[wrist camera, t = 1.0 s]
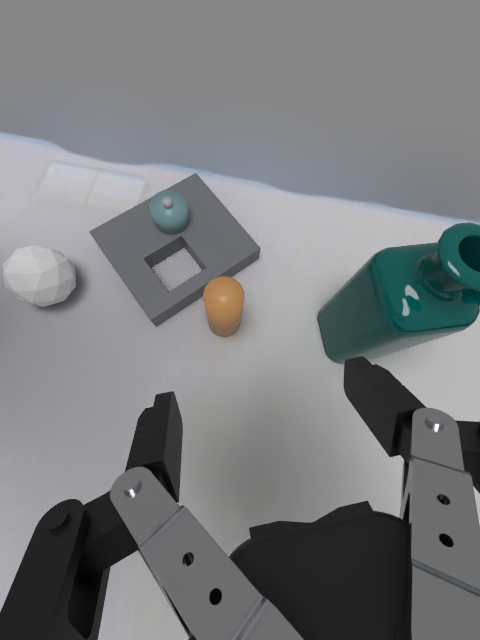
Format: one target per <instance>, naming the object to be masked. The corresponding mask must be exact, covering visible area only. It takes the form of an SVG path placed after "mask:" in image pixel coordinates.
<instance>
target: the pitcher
mask: <svg viewBox="0 0 480 640" xmlns="http://www.w3.org/2000/svg"><path fill="white" fill-rule="evenodd" d="M479 312H480V225H478V224H473V223H461V224H455V225H453V226H452V227H450V228H448V229H447V230H445V231H444V232H443V234H442V236H441V237H440V239H439V241H438V242H437V243H428V244H419V245H409V246H400V247H391V248H385V249H383V250H381V251H379V252H377V253H376V254H374V255H373V256H372V257H371V258H370V259H369V260H368V261H367V262H366V263H365V264H364V265H363V266H362V267H361V268H360V269H359V270H358V271H357V272H356V273H355V274H354V275H353V276H352V277H351V278H350V279H349V280H348V281H347V282H346V283H345V284H344V285H343V286H342V287H341V288H340V289H339V291H338V292H337V293H336V294H335V295H334V296H333V297H332V298H331V299H330V300H329V301H328V302H327V303H326V304H325V305H324V306H323V307H322V308H321V310H320V311H319V313H318V321H319V325H320V329H321V334H322V338H323V342H324V346H325V351H326V353H327V355H328V356H329V358H331V359H332V360H334V361H335V362H339V363H345V360H346V359H349V358H354V357H359V356H363V357H365V358H366V359H373V358H378V357H381V356H384V355H387V354H390V353H394V352H397V351H400V350H403V349H406V348H409V347H413V346H416V345H419V344H422V343H425V342H428V341H432V340H435V339H438V338H441V337H444V336H447V335H450V334H454V333H457V332H460V331H463V330H464V329H466V328H468V327H469V326H471V325H472V324H473V323H474V322H475V321H476V319H477V317H478V315H479Z"/></svg>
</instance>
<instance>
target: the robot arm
mask: <svg viewBox="0 0 480 640" xmlns="http://www.w3.org/2000/svg"><path fill="white" fill-rule="evenodd" d="M344 391H345V394H346V396H347V398H348V400H349V401H350V402H351V404H352V405H353V406H354V408H355V409H356V411H357V412H358V413H359V415H360V416H361V418H362V419H363V420H364V422H365V423H366V425H367V426H368V427H369V429H370V430H371V432H372V433H373V434H374V436H375V437H376V439H377V440H378V441H379V443H380V444H381V446H382V447H383V448H384V450H385V451H386V453H387V454H388V455H389V457H393V456H397V455H401V456H402V458H403V459H404V463H403V474H402V491H401V507H400V516H399V518H398V517H396V516H394V515H391V514H387V513H383V512H378V511H373V510H372V508H371V506H370V504H369V503H368V501H364V502H360V503H356V504H351V505H347V506H342V507H339V508H337V509H335V510H334V511H332V512H330V513H329V514H327V515H325V516H323V517H322V518H320V519H318V520H317V521H315V522H312V523H304V522H287V521H277V522H272V523H268V524H264V525H259V526H255V527H251V528H249V530H250V536H251V538H250V539H248V540H247V541H245V542H244V543H242V544H241V545H240V546H238V547H237V548H236V549H235V550H234V551H233V552H232V554H231V555H230V556H229V557H228V556H227V555H226V553H225V552H224V551H223V550H222V549H221V548H220V546H219V545H218V544H217V543H216V542H215V541H214V539H213V538H212V537H211V536H210V535H209V534H208V532H207V531H206V530H205V529H204V528H203V526H202V525H201V524H200V523H199V522H198V521H197V519H196V518H195V517H194V516H193V515H192V514H191V512H190V511H189V510H188V509H187V508H186V507H185V506H181V507H180V506H179V505H178V504H177V502H179V489H180V471H181V453H182V435H183V425H182V418H181V414H180V411H179V408H178V404H177V401H176V397H175V394H174V392H173V391H172V392H167V393H161V394H156V396H155V401H154V406H153V407H150V408H145V410H144V411H143V412H142V414H141V415H140V417H139V418H138V422H137V426H136V430H135V434H134V439H133V442H132V446H131V450H130V454H129V458H128V462H127V466H126V470H125V472H124V473H123V474H122V475H120V476H119V477H118V478H117V480H116V481H115V482H114V484H113V486H112V488H111V490H110V491H109V492H107V493H106V494H104V495H102V496H100V497H98V498H96V499H94V500H92V501H90V502H88V503H87V504H85V505H83V504H82V503H81V502H80V501H79V500H76V499H69V500H65V501H63V502H60V503H58V504H57V505H55V506H54V507H52V508H51V509H50V510H49V511H48V512H47V513H46V514H45V515H44V516H43V517H42V518H41V520H40V521H39V523H38V524H37V526H36V528H35V531H34V533H33V535H32V538H31V540H30V543H29V545H28V547H27V550H26V552H25V555H24V557H23V559H22V562H21V564H20V567H19V569H18V571H17V574H16V576H15V579H14V581H13V583H12V586H11V588H10V591H9V593H8V595H7V598H6V600H5V603H4V605H3V607H2V610H1V612H0V640H98V635H99V629H100V623H101V618H102V612H103V606H104V601H105V595H106V589H107V584H108V578H109V572H110V567H111V566H112V565H114V564H115V563H117V562H119V561H120V560H122V559H124V558H125V557H127V556H129V555H130V554H132V553H134V552H135V551H137V550H138V552H139V553H140V555H141V557H142V558H143V560H144V562H145V563H146V565H147V567H148V568H149V570H150V572H151V573H152V575H153V577H154V578H155V580H156V582H157V583H158V585H159V587H160V589H161V590H162V592H163V594H164V595H165V597H166V599H167V601H168V602H169V604H170V606H171V608H172V610H173V611H174V613H175V615H176V616H177V618H178V620H179V622H180V623H181V625H182V627H183V628H184V630H185V632H186V633H187V635H188V637H189V639H188V640H480V527H479V520H478V514H477V508H476V501H475V495H474V489H473V486H474V487H475V488H476V490H477V491H478V492H479V493H480V422H470V421H455V420H454V419H453V418H452V417H451V416H449V415H448V414H446V413H444V412H442V411H440V410H437V409H433V408H426V407H425V406H424V405H423V404H422V403H421V402H420V401H419V400H418V399H417V398H416V397H415V396H414V395H413V394H412V393H411V392H410V391H409V390H408V389H407V388H406V387H405V386H404V385H403V386H402V384H401V383H400V382H399V381H398V380H397V379H395V377H394V376H393V375H392V374H391V373H390V372H389V371H388V370H386V369H384V368H382V367H380V366H378V365H377V364H376V365H372V364H371V363H370V362H369V361H368V360H367V359H366V358H365V357H363V356H359V357H354V358H349V359H346V360H345V367H344Z"/></svg>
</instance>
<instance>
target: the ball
mask: <svg viewBox="0 0 480 640" xmlns="http://www.w3.org/2000/svg"><path fill="white" fill-rule="evenodd" d="M3 277H4V285H5V286H6V287H7V288H8V289H9V290H10V291H11V292H12V294H13V295H14V296H15V297H16V298H17V299H18V300H19V301H21V302H25V303H29V304H33V305H37V306H41V307H45V306H48V305H52V304H55V303H59V302H62V301H65V299H66V298H67V297H68V296H69V294H70V293H71V292H72V291H73V289H74V288H75V287H76V276H75V267H74V266H73V265H72V264H71V263H70V261H69V260H68V259H67V258H66V257H65V255H64V254H63V253H62V252H60V251H57V250H54V249H51V248H48V247H46V246H43V245H33V246H27V247H23V248H18V249H16V250H15V251H14V252H13V254H12V255H11V256H10V257H9V258H8V259H7V260H6V261H5V262H4V263H3Z"/></svg>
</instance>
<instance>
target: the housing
mask: <svg viewBox="0 0 480 640" xmlns="http://www.w3.org/2000/svg"><path fill="white" fill-rule="evenodd" d="M90 234H91V235H92V237H93V238H94V240H95V241H96V243H97V244H98V245H99V247H100V248H101V250H102V251H103V253H104V254H105V255H106V257H107V258H108V260H109V261H110V263H111V264H112V265H113V267H114V268H115V270H116V271H117V273H118V274H119V276H120V277H121V278H122V280H123V281H124V283H125V284H126V286H127V287H128V288H129V290H130V291H131V293H132V294H133V296H134V297H135V299H136V300H137V301H138V303H139V304H140V306H141V307H142V309H143V310H144V311H145V313H146V314H147V316H148V317H149V319H150V320H151V321H152V322H153V324H154V325H155V326H158V325H159V324H161V323H162V322H164V321H165V320H167V319H168V318H170V317H171V316H173V315H174V314H176V313H177V312H179V311H180V310H182V309H183V308H185V307H186V306H188V305H189V304H191V303H192V302H194V301H195V300H197V299H198V298H200V297H201V296H203V292H204V289H205V287H206V285H207V284H208V283H209V282H210V281H211V280H213V279H214V278H217V277H222V276H225V277H232V276H233V275H235V274H236V273H238V272H239V271H241V270H242V269H244V268H245V267H247V266H248V265H250V264H251V263H253V262H254V261H256V260H257V259H258V257H259V253H260V247H259V246H258V245H257V244H256V242H255V241H254V240H253V239H252V238H251V237H250V235H249V234H248V233H247V232H246V231H245V230H244V228H243V227H242V226H241V225H240V224H239V223H238V221H237V220H236V219H235V218H234V217H233V216H232V214H231V213H230V212H229V211H228V210H227V209H226V207H225V206H224V205H223V204H222V203H221V202H220V200H219V199H218V198H217V197H216V196H215V195H214V193H213V192H212V191H211V190H210V189H209V188H208V186H207V185H206V184H205V183H204V182H203V181H202V179H201V178H200V177H199V176H198V175H197V174H196V173H195V174H193V175H191V176H190V177H188V178H186V179H184V180H182V181H181V182H179V183H177V184H175V185H173V186H171V187H170V188H168V189H166V190H164V191H161V192H159V193H157V194H156V195H154V196H153V197H151V198H150V199H148V200H146V201H144V202H142V203H140V204H139V205H137V206H135V207H133V208H131V209H130V210H128V211H126V212H124V213H122V214H120V215H119V216H117V217H115V218H113V219H111V220H110V221H108V222H106V223H104V224H102V225H100V226H99V227H97V228H95V229H93V230H91V231H90ZM184 247H185V248H186V250H187V251H188V252H189V253H190V255H191V256H192V257H193V259H194V260H195V261H196V262H197V264H198V265H199V266H200V268H201V269H202V270H203V271H201V272H200V273H198V274H196V275H195V276H193V277H192V278H190V279H189V280H187V281H186V282H184V283H182V284H181V285H179V286H178V287H176V288H175V289H173V290H171V291H170V292H168V291H167V290H166V289H165V287H164V286H163V284H162V283H161V282H160V280H159V279H158V278H157V276H156V275H155V274H154V272H153V271H152V269H151V267H153V266H154V265H156V264H157V263H159V262H161V261H162V260H164V259H166V258H167V257H169V256H171V255H172V254H174V253H175V252H177V251H179V250H180V249H182V248H184Z"/></svg>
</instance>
